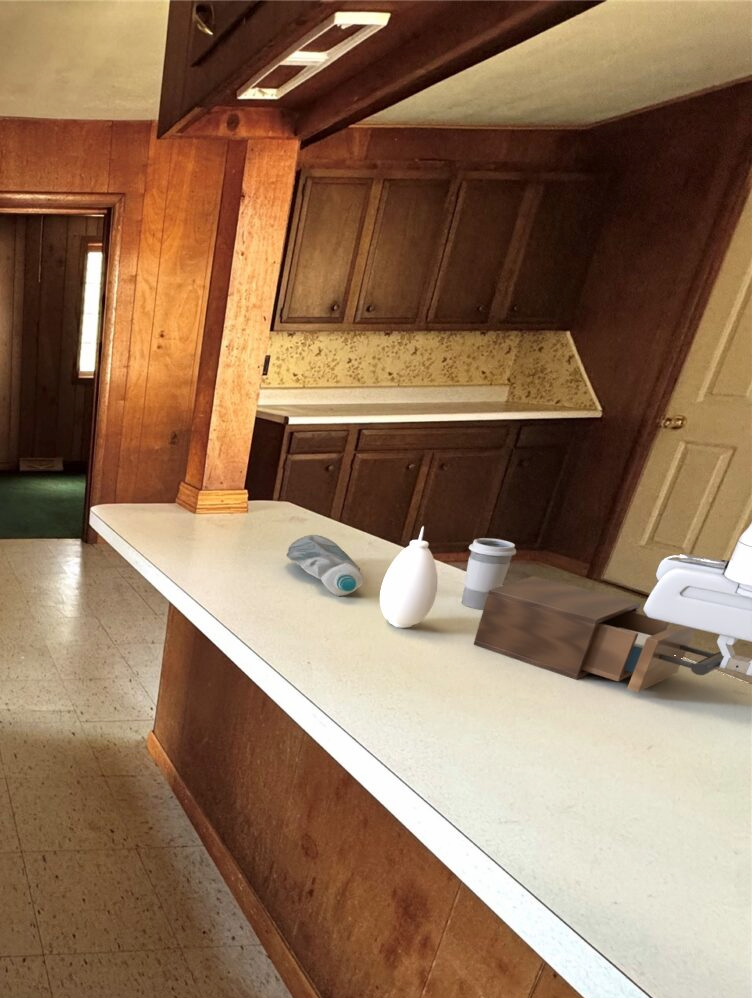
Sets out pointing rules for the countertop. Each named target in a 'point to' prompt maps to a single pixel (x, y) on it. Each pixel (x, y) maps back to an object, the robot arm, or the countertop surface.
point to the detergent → (326, 563)
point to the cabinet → (546, 622)
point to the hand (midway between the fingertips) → (736, 670)
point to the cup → (485, 569)
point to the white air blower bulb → (409, 585)
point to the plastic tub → (636, 651)
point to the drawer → (644, 650)
